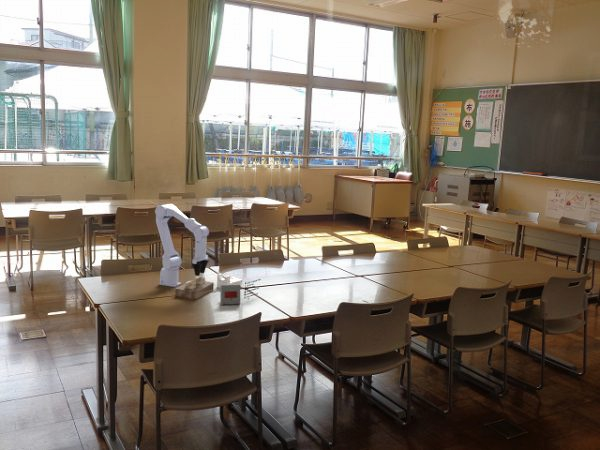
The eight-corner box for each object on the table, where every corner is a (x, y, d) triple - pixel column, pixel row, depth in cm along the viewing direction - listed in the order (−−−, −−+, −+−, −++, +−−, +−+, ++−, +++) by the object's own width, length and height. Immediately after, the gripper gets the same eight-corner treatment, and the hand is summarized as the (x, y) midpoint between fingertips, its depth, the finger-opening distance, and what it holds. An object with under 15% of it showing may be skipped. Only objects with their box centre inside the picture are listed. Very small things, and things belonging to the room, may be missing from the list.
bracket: (226, 290, 303) (227, 276, 302) (216, 287, 307) (217, 274, 306) (242, 285, 314) (242, 272, 313) (232, 283, 318) (232, 270, 317)
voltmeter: (229, 308, 272) (230, 288, 271) (212, 303, 279) (213, 283, 277) (263, 297, 294) (264, 279, 293) (247, 292, 300) (248, 275, 299)
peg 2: (194, 284, 296) (194, 278, 296) (197, 283, 300) (197, 276, 300) (201, 285, 295) (201, 279, 295) (204, 284, 299) (204, 277, 299)
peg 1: (185, 289, 287) (185, 282, 286) (188, 287, 291) (189, 280, 290) (192, 290, 286) (192, 283, 285) (195, 288, 290) (196, 281, 289)
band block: (175, 296, 286) (175, 288, 285) (193, 286, 305) (193, 279, 304) (196, 299, 282) (196, 291, 282) (213, 289, 302) (213, 282, 301)
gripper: (201, 252, 287) (200, 278, 289) (213, 247, 301) (212, 272, 303) (189, 251, 289) (188, 276, 291) (201, 246, 302) (200, 270, 305)
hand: (199, 274), depth 297 cm, fingers open, 5 cm apart
